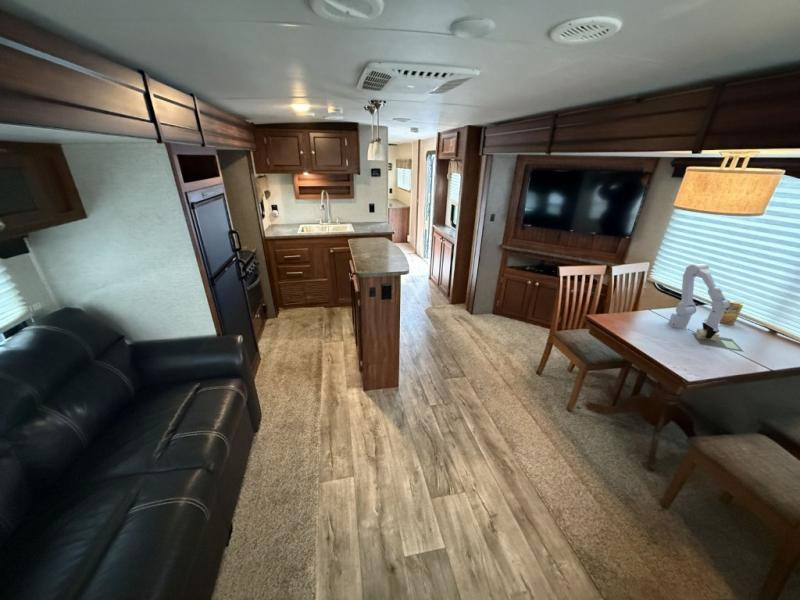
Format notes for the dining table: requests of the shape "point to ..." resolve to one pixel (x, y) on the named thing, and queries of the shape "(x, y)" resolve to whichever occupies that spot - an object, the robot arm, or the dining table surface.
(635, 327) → the dining table surface
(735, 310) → the candy box
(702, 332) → the maple block
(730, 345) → the rubber mat
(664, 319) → the dining table surface
